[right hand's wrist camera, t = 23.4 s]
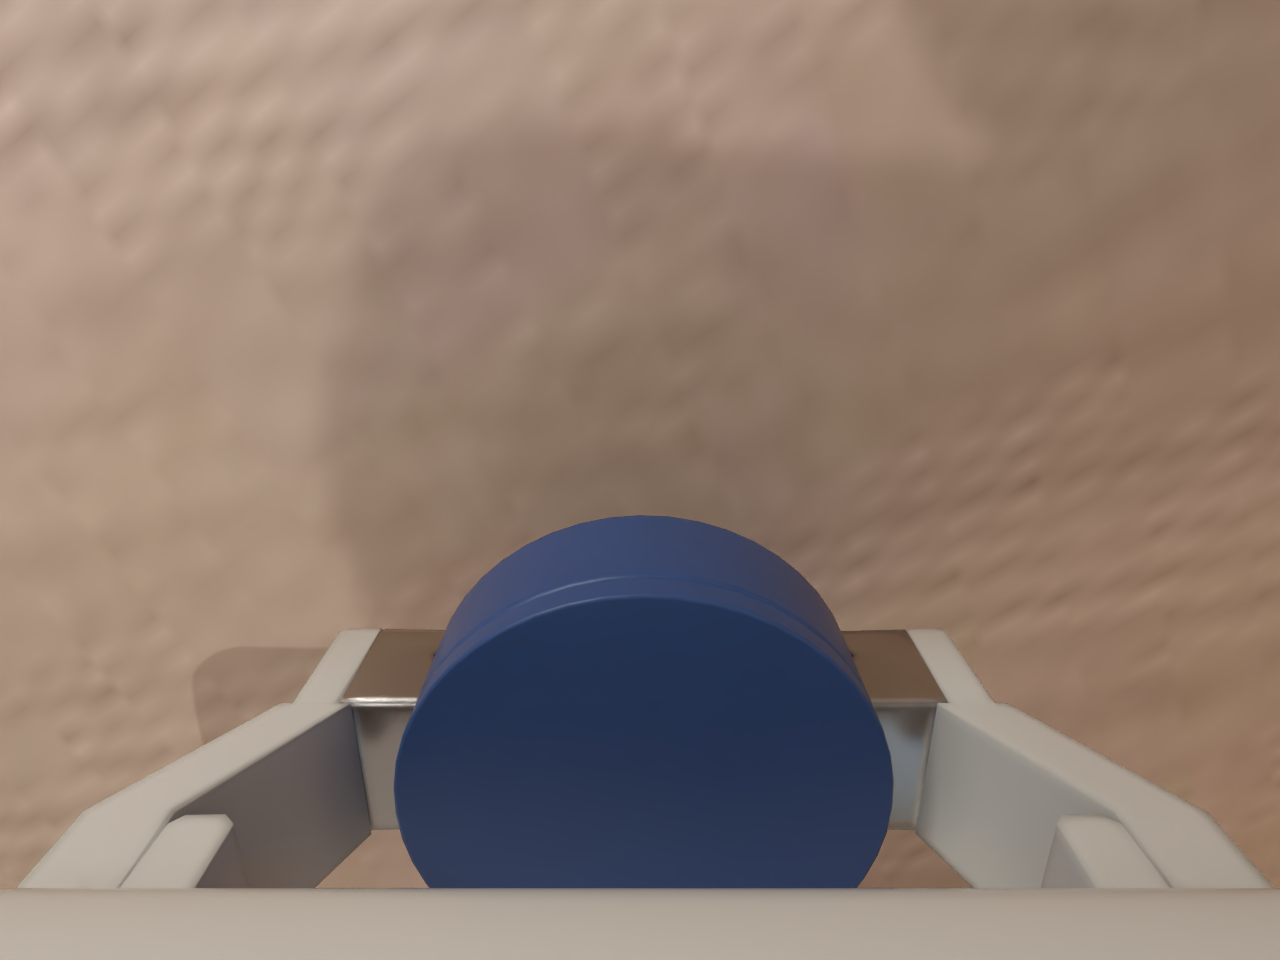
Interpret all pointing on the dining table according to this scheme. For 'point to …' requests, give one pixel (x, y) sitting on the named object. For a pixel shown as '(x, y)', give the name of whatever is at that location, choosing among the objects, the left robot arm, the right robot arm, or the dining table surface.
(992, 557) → the dining table surface
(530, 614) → the lid
